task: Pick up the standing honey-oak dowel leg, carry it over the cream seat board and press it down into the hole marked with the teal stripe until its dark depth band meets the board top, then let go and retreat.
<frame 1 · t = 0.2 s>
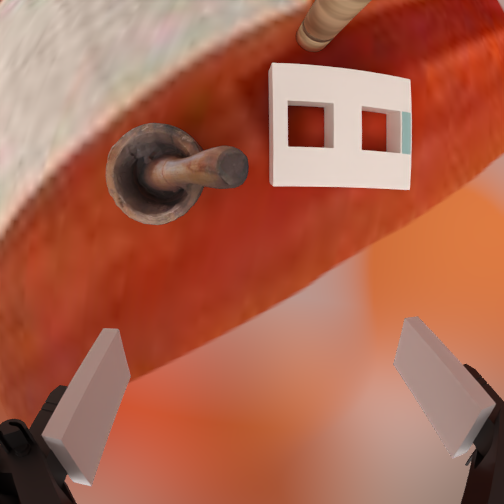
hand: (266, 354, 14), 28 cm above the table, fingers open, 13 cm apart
seat board: (337, 128, 37), on the table
mortar and pestle: (190, 160, 37), on the table
leg peg: (311, 38, 33), on the table
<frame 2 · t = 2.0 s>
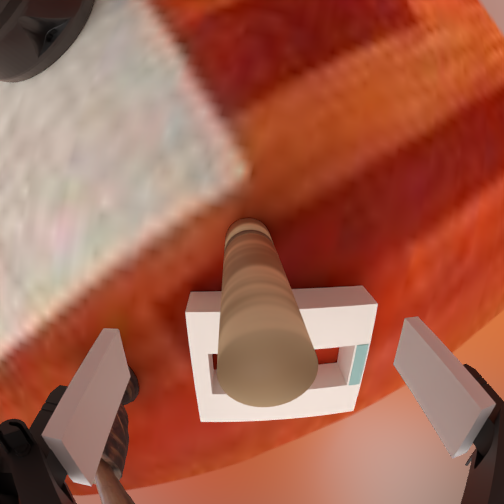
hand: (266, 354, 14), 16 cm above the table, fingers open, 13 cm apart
seat board: (277, 348, 33), on the table
mortar and pestle: (121, 374, 34), on the table
leg peg: (247, 239, 29), on the table
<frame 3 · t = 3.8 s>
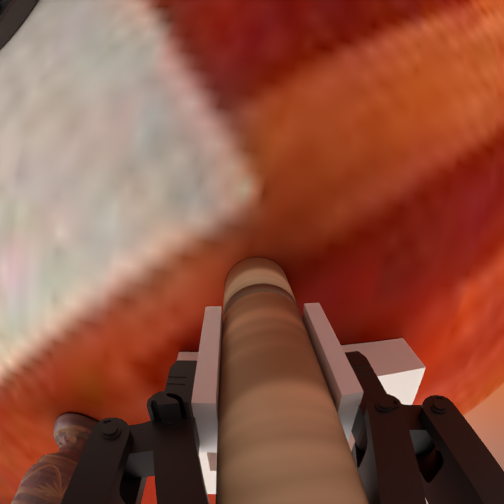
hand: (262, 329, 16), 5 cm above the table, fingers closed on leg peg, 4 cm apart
seat board: (292, 414, 24), on the table
mortar and pestle: (101, 433, 25), on the table
leg peg: (256, 286, 21), on the table, touching gripper
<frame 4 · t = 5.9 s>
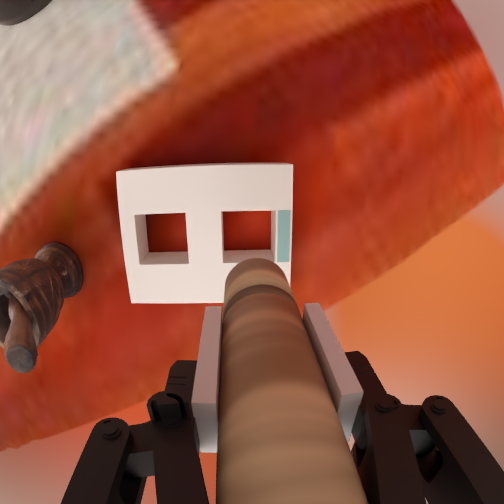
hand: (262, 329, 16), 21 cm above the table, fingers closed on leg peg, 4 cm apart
seat board: (207, 228, 35), on the table
mortar and pestle: (69, 264, 36), on the table
leg peg: (256, 287, 21), point 16 cm above the table, touching gripper
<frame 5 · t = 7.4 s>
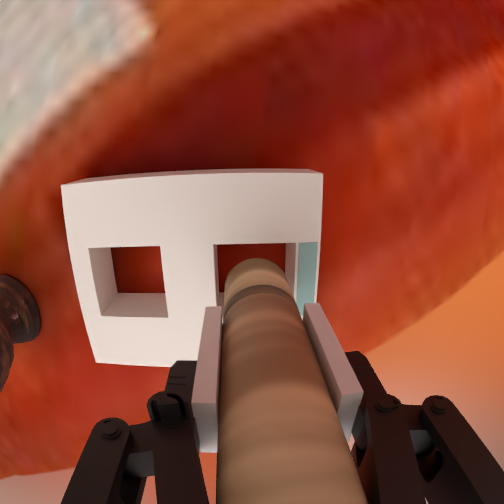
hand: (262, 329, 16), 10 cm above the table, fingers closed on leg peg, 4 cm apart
seat board: (195, 262, 25), on the table
mortar and pestle: (23, 302, 25), on the table
leg peg: (256, 287, 21), point 5 cm above the table, touching gripper
when the fingers open (6 cm above the table, at t = 8.3 s): leg peg stays where it is, resting in seat board.
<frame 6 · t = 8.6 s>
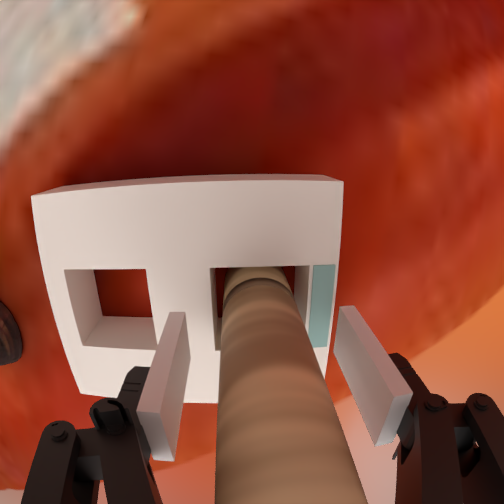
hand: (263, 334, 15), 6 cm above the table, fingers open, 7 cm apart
seat board: (190, 283, 21), on the table
mortar and pestle: (4, 321, 22), on the table
leg peg: (255, 282, 21), resting in seat board
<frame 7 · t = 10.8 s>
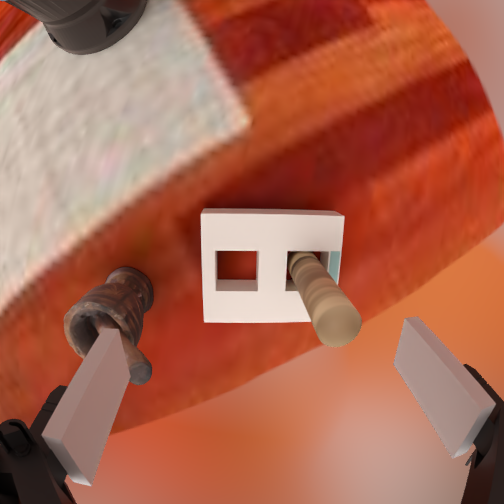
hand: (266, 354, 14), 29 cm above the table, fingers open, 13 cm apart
seat board: (269, 261, 43), on the table
mortar and pestle: (139, 286, 44), on the table
leg peg: (300, 261, 43), resting in seat board
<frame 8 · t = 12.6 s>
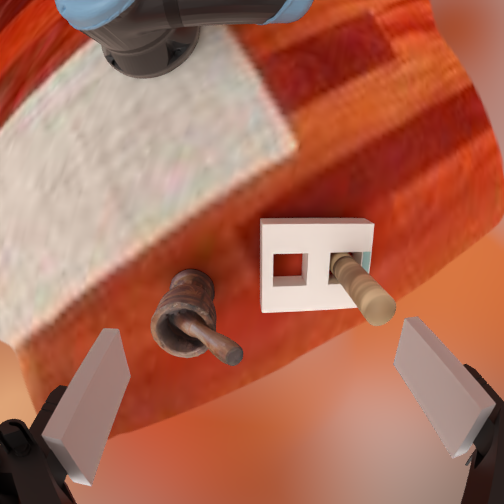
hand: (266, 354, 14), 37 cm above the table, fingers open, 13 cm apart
seat board: (312, 260, 52), on the table
mortar and pestle: (201, 285, 52), on the table
leg peg: (337, 259, 52), resting in seat board
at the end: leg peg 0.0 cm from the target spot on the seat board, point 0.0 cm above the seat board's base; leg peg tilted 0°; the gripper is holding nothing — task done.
